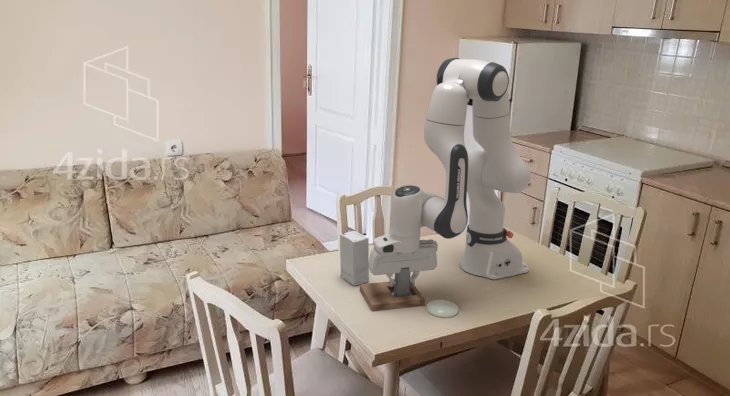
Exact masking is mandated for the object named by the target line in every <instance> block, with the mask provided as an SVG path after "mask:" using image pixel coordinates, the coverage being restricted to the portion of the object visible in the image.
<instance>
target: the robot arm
mask: <svg viewBox="0 0 730 396" xmlns="http://www.w3.org/2000/svg"><path fill="white" fill-rule="evenodd" d="M509 85H510V77H509V73H508V71H507V68H505V67H504V66H503V65H502V64H500V63H497V62H493V61H492V62H490V61H487V60H483V59H478V58H473V59H472V58H471V59H470V58H460V57H452V58H447V59H445V60H444V61H443V62H442V63H441V65H439V68H438V69H437V73H436V86H435V87H434V88H433V91H432V94H431V98H430V100H429V103H428V107H427V111H426V116H425V120H424V121H425V123H424V128H423V136H424V138H423V139H424V142H425V144H426V145H427V147H428V149H429V150H430V151H431V152H432V153H433V154H434V155H435V156H436V157H437V158H438V159H439V160H440V162H441V163H442V165H443V167H444V169H445V193H444V194H445V195H444V196H445V197H444V198H443V197H442V196H440V195H437V194H435V193H433V192H430V191H429V192H427V191H424V190H423V189H421V188H420V186H417V185H411V184H410V185H402V186H400V187H398V188H397V189H395V191H394V192H393V195H392V199H391V204H390V222H391V223H390V224H391V225H390V228H389V232H388V233H387V232H386V233H385V234H383V235H380V237H379V236H377V237H378V238H377V237H376V238H374V239H373V241H372V245H373V246H374V247H372V249H371V251H370V252H369V273H371V275H373V276H382V275H383V276H384V275H386V277H387V278H388V282H389V285H390V287H393V286H396V281H395V278H393V276H394V275H395V273H400V271H401V268H408V267H409V268H410V269H409V271H410V273H412V275H410V285H415V284H416V280H417V278H418V277H419V276H420V272H424V271H425V272H427V271H434V270H435V269H436V268H437V266H438V258H437V257H438V256H437V255H438V254H437V251H438V249H439V247H438V246H439V245H438V242H437V241H436V240H435V239H431V238H429V239H421V228H424V227H425V228H427V229H430V230H432V231H433V232H435V233H436V234H438V235H439V236H441V237H442V238H444V239H447V240H448V239H449V240H450V239H453V238H456V237H458V236H459V235H461V234H462V233H463V232H464V231H465V230H466V235H465V249H464V252H463V255H462V258H461V261H460V263H459V267H460V268H461V269H462V270H463V271H465V272H467V273H468V274H471V275H474V276H479V277H484V278H487V279H490V280H498V279H503V278H508V277H512V276H517V275H521V274H526V273H528V272H529V265H528V264H527V263H526V262H525V261H524V260H523V256H522V252H521V250H520V248H518V247H517V246H516V245H515V244H514V243H513V242H512V241H510V240H509V239H512V238H513V237H514V235H515V234H514V232H512V231H510V230H507V229H506V228H505V227H504V222H505V213H506V207H505V205H504V203H503V201H502V200H501V199H500V198H499V197H498V195H497V193H496V191H498V192H502V193H506V194H507V193H509V194H520V193H522V192H524V191H525V190H526V189H527V188H528V187H529V184H530V181H531V178H532V172H531V168H530V166H529V165H528V163H526V162H525V161H524V160H523V159H522V157H521V156H520V155H519V153H518V152H517V150H516V148H515V144H514V142H513V139H512V135H511V120H510V119H511V117H510V116H511V115H510V113H511V112H510V111H511V109H510V108H511V104H510V95H509V89H508V88H509ZM470 99H472V105H471V106H472V108H471V109H472V136H473V138H474V141H475V142H476V143H477V144H478V145H479V146H480V147H481V148H482V149H483V150H481V149H467V148H466V145H465V125H466V120H467V108H468V104H469V102H470ZM495 190H496V191H495ZM467 196H468V198H467ZM467 199H468V201H469V213H468V209H467V206H468V205H467ZM468 214H469V215H468ZM466 227H467V228H466Z"/></svg>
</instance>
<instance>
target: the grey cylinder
mask: <svg viewBox="0 0 730 396" xmlns="http://www.w3.org/2000/svg"><path fill="white" fill-rule="evenodd" d="M409 269H410V268H409V267H408V268H401V271H400V273H395V274H394V279H395V281H396V286H394V292H393V296H394V297H402V296H410V292H409V287H410V277H411V272H410V271H409Z"/></svg>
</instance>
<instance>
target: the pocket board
mask: <svg viewBox="0 0 730 396" xmlns="http://www.w3.org/2000/svg"><path fill="white" fill-rule="evenodd" d="M359 291H360V293H361V294H362V296H363V298H364V300H365V302H366V303H367V306H368V307H369V309H370V311H371V312H374V311H375V312H376V311H377V312H378V311H385V310H396V309H403V308H404V309H405V308H413V307H423V306H425V305H426V299H425V297H424V296H423V294H422V293H421V291H419V289H418V288H417V286H416V285H415V284H414V285H410V287H409V294H410V295H409V296H402V297H394V294H393V293H394V286H393V287H390V285H389V281H380V282H371V283H370V282H367V283H363V284H359Z"/></svg>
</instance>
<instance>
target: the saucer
mask: <svg viewBox="0 0 730 396" xmlns="http://www.w3.org/2000/svg"><path fill="white" fill-rule="evenodd" d="M426 311H427V313H428V314H430V315H431V316H433V317H436V318H440V319H450V318H453V317H455V316H457V315H458V314H459V307H458V305H457V304H455V303H454V302H453V301H450V300H445V299H434V300H431V301H428V303H427V304H426Z"/></svg>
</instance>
